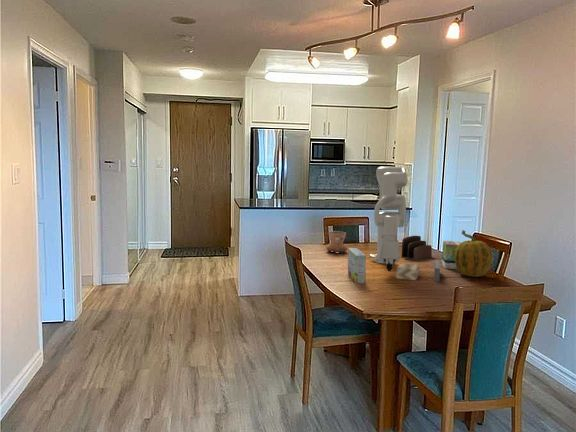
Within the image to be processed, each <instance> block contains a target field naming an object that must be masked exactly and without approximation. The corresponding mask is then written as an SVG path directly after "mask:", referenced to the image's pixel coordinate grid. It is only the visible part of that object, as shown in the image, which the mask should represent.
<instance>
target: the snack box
mask: <svg viewBox="0 0 576 432" xmlns="http://www.w3.org/2000/svg"><path fill="white" fill-rule="evenodd" d="M366 258H367V256H366V254H365V253H363V252H362V251H361V250H360V249H358V248H357V247H347V274H349V275H348V276H349V277H350V278H351V279H352V280H353V282H354V283H355V284H356V285H359V284H360V285H361V284H366V279H367V278H366V274H367V273H366V268H367V267H366V266H367V264H366V261H367V259H366Z"/></svg>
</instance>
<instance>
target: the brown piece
mask: <svg viewBox="0 0 576 432" xmlns="http://www.w3.org/2000/svg"><path fill="white" fill-rule="evenodd" d="M346 236H347V232H344V231H340V230H332V231H331V230H330V231H328V237H329V240H330V243H328V244H327V245H326V250H327V251H328V252H329V251H333V252H343V253H345V252H348V246H347V245H346V244H345V243H344V241H345V239H346ZM344 251H345V252H344Z"/></svg>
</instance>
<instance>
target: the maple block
mask: <svg viewBox="0 0 576 432" xmlns="http://www.w3.org/2000/svg"><path fill="white" fill-rule="evenodd" d="M419 272H420V264H411V263H410V264H409V263H400V264H399V265H398V266H396V272H395V273H396V275H395V277H396V279H399V280H400V279H401V280H409V281H410V280H411V281H416V280H417V279H418V277H419V274H420V273H419Z"/></svg>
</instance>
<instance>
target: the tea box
mask: <svg viewBox="0 0 576 432" xmlns="http://www.w3.org/2000/svg"><path fill="white" fill-rule="evenodd" d="M460 243H461V242H460V241H455V240H454V241H453V240H443V241H442V254H441V255H442V256H441V264H442V265H443V268H444V269H447V270H448V269H449V270H457V268H456V264H455V251H456V248H457V246H458V245H459V244H460Z"/></svg>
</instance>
